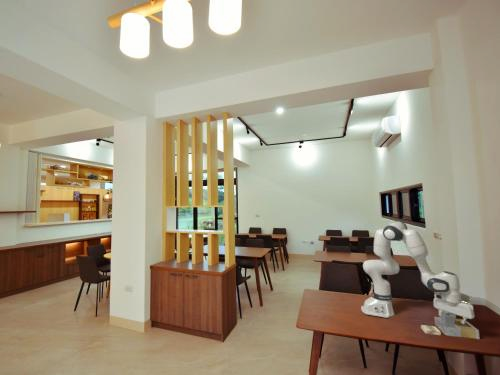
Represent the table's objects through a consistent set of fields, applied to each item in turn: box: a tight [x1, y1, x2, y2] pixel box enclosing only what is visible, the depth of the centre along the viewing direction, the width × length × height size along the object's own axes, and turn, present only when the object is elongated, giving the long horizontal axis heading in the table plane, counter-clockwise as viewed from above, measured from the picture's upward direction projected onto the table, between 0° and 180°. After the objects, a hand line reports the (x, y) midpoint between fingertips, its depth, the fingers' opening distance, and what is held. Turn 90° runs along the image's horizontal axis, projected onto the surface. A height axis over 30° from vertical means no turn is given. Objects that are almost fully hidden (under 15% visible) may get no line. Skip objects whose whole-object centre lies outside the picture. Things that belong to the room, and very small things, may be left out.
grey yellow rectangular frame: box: [433, 316, 480, 340], centre depth 150 cm, size 17×14×5 cm
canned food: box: [460, 292, 471, 304], centre depth 178 cm, size 11×11×12 cm
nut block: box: [440, 313, 455, 325], centre depth 151 cm, size 5×5×5 cm
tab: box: [420, 324, 442, 336], centre depth 150 cm, size 8×7×2 cm
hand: (453, 320), depth 150 cm, fingers open, 8 cm apart
